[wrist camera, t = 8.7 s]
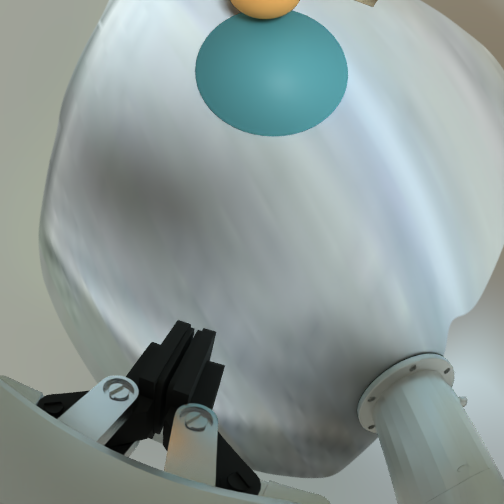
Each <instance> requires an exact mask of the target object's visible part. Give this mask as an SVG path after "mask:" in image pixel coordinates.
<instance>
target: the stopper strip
mask: <svg viewBox="0 0 504 504" xmlns="http://www.w3.org/2000/svg"><path fill="white" fill-rule="evenodd" d="M356 1H358V2H361V3H364V4H367V5H369V6H372V7H373V6H374V5H375V3H376V2H377V0H356Z"/></svg>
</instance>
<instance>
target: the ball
mask: <svg viewBox="0 0 504 504" xmlns="http://www.w3.org/2000/svg"><path fill="white" fill-rule="evenodd" d="M230 1H231V2H232V4H233V5H234V6H235V8H237V9H238V10H239V11H240V12H242V13H244V14H245V15H248V16H250V17H253V18H258V19H273V18H278V17H281V16H283V15H285V14H287V13H289V12H290V11H292V10H293V9H294V8H295V7H296V6H297V4H298V3H299V1H300V0H230Z"/></svg>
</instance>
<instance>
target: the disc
mask: <svg viewBox="0 0 504 504" xmlns="http://www.w3.org/2000/svg"><path fill="white" fill-rule="evenodd" d="M195 71H196V81H197V86H198V89H199V91H200V94H201V96H202V98H203V100H204V101H205V103H206V104H207V105H208V107H209V108H210V109H211V110H212V111H213V112H214V113H215V114H216V115H217V116H218V117H219V118H220V119H222V120H223V121H224V122H226V123H227V124H229V125H231V126H233V127H235V128H237V129H239V130H242V131H244V132H248V133H251V134H256V135H261V136H286V135H292V134H296V133H299V132H303V131H305V130H308V129H310V128H312V127H314V126H316V125H317V124H319V123H321V122H322V121H323V120H325V119H326V118H327V117H328V116H329V115H330V114H331V113H332V112H333V111H334V110H335V109H336V107H337V106H338V105H339V103H340V101H341V99H342V97H343V95H344V93H345V90H346V86H347V80H348V68H347V62H346V58H345V55H344V53H343V51H342V48H341V46H340V45H339V43H338V42H337V40H336V39H335V37H334V36H333V35H332V34H331V33H330V32H329V31H328V30H327V29H326V28H325V27H324V26H323V25H321V24H320V23H318V22H317V21H315V20H314V19H312V18H310V17H308V16H306V15H303V14H301V13H298V12H295V11H290V12H289V13H287V14H285V15H283V16H281V17H278V18H273V19H258V18H253V17H250V16H248V15H245V14H244V13H239V14H237V15H234V16H232V17H230V18H229V19H227V20H225V21H224V22H222V23H221V24H220V25H218V26H217V27H216V28H215V29H214V30H213V31H212V32H211V33H210V34H209V35H208V37H207V38H206V39H205V41H204V43H203V44H202V46H201V48H200V51H199V53H198V57H197V61H196V69H195Z"/></svg>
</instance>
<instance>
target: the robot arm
mask: <svg viewBox="0 0 504 504" xmlns="http://www.w3.org/2000/svg"><path fill="white" fill-rule="evenodd" d="M193 335H194V328H191V324H189V323H186V322H183V321H180V320H178V321H177V322H176V324H175V325H174V327H173V328H172V329H171V331H170V332H169V334H168V335H167V337H166V338H165V340H164V341H163V342H162V344H161V345H159V344H157V343H154V342H152V343H151V344H150V345H149V346H148V347H147V349H146V350H145V351H144V353H143V354H142V355H141V357H140V358H139V359H138V361H137V362H136V363H135V365H134V366H133V368H132V369H131V370H130V372H129V373H128V374H127V376H126V377H124V376H119V375H114V376H109V377H106V378H105V379H103V380H102V381H101V382H99V383H98V384H97V385H96V386H95V387H94V388H93V389H92V390H91V391H83V392H73V393H63V394H52V395H46V396H43V394H42V392H39V391H37V390H35V389H33V388H30V387H28V386H26V385H24V384H22V383H19V382H17V381H15V380H13V379H11V378H9V377H6V376H0V504H330V502H329V501H328V500H327V499H326V498H325V497H323V496H321V495H319V494H314V493H310V492H306V491H303V490H299V489H295V488H292V487H289V486H286V485H282V484H279V483H276V482H273V481H269V482H266V481H263V480H260V479H259V478H258V476H257V475H256V474H255V473H254V472H253V470H252V469H251V468H250V467H249V466H248V465H247V464H246V463H245V462H244V461H243V460H242V459H241V458H240V456H239V455H238V454H237V453H236V452H235V451H234V450H233V449H232V447H231V446H230V445H229V444H228V443H227V442H226V441H225V439H224V438H223V437H222V436H221V435H220V433H219V432H218V419H217V416H216V415H215V413H214V412H213V411H212V409H213V405H214V402H215V399H216V395H217V392H218V388H219V385H220V382H221V378H222V374H223V371H224V367H225V365H221V364H218V363H214V362H211V361H210V357H211V352H212V348H213V344H214V340H215V335H216V332H215V331H212V330H208V329H205V328H203V330H202V331H200V330H197V332H196V334H195V336H194V338H193ZM453 382H454V370H453V367H452V366H451V364H450V363H449V361H448V360H447V359H446V358H444V357H443V356H440V355H438V354H422V355H418V356H414V357H411V358H408V359H406V360H403V361H401V362H400V363H398V364H396V365H394V366H392V367H391V368H389V369H388V370H386V371H385V372H383V373H382V374H381V375H380V376H379V377H378V378H376V379H375V380H374V381H373V382H372V383H371V385H370V386H369V387H368V388H367V389H366V391H365V392H364V393H363V395H362V397H361V399H360V401H359V404H358V408H357V413H358V418H359V421H360V424H361V425H362V427H363V428H364V429H366V430H367V431H370V432H372V433H377V434H378V437H379V440H380V443H381V447H382V450H383V453H384V456H385V459H386V463H387V466H388V470H389V473H390V477H391V481H392V484H393V488H394V492H395V495H396V499H397V503H398V504H504V479H503V477H502V475H501V473H500V472H499V470H498V468H497V466H496V464H495V462H494V460H493V458H492V457H491V455H490V453H489V451H488V449H487V447H486V446H485V444H484V442H483V440H482V439H481V437H480V435H479V433H478V432H477V430H476V428H475V427H474V425H473V423H472V421H471V420H470V418H469V417H468V415H467V413H466V412H465V410H464V408H463V407H464V406H465V405H466V404H467V398H466V397H457V395H456V394H455V392H454V390H453V389H452V386H453ZM163 426H164V428H163ZM162 428H163V446H164V447H165V449H166V450H167V456H166V462H165V467H164V471H162V470H159V469H156V468H153V467H151V466H148V465H146V464H143V463H141V462H138V461H136V460H133V459H131V458H129V456H130V455H131V453H132V452H133V451H134V450H135V448H136V447H137V446H138V444H139V441H140V440H143V439H147V438H150V439H152V438H153V436H154V434H155V433H157V434H160V433H161V430H162Z"/></svg>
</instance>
